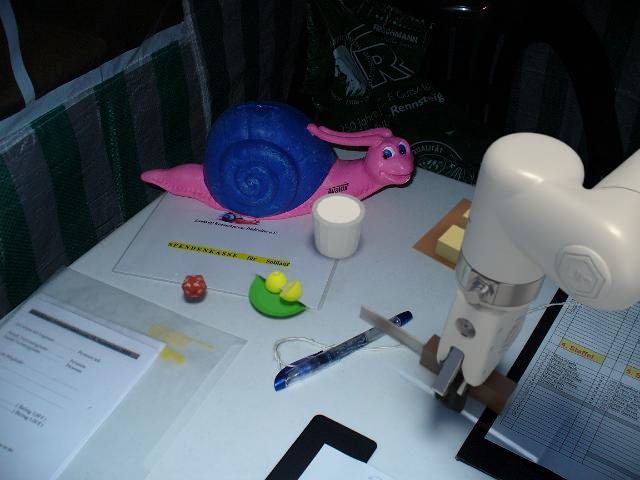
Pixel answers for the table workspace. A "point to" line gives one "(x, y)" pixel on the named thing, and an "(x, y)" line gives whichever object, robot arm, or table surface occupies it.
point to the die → (194, 286)
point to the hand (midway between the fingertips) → (463, 383)
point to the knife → (489, 393)
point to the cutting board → (442, 232)
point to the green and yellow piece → (276, 295)
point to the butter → (450, 243)
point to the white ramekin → (337, 224)
